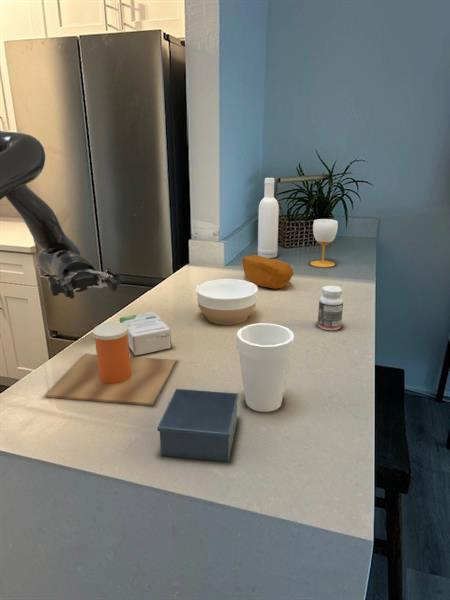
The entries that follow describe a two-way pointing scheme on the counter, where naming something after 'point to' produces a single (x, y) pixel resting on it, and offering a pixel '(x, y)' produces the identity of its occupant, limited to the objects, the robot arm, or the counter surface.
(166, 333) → the ink box
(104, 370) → the tub
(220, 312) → the bowl
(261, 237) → the bottle
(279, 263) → the bread
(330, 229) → the cup
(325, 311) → the pill bottle
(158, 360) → the cutting board
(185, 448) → the tin
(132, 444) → the counter surface
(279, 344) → the foam cup
